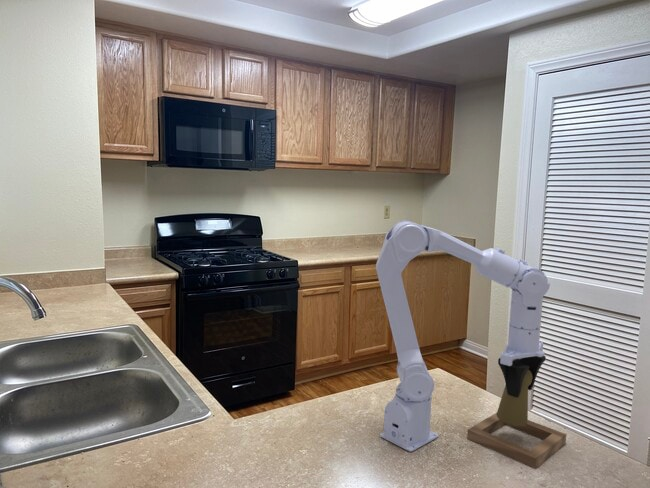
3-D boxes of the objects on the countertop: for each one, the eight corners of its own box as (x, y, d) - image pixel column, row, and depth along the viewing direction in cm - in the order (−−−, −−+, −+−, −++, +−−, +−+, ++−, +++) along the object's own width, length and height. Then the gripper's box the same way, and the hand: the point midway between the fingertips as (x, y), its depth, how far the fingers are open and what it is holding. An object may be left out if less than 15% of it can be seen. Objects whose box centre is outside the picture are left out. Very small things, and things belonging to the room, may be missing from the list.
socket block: (535, 468, 87) (536, 458, 87) (467, 438, 98) (467, 429, 97) (565, 443, 97) (566, 434, 97) (500, 418, 107) (501, 410, 107)
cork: (529, 429, 94) (537, 377, 92) (496, 421, 96) (504, 370, 94) (526, 414, 100) (534, 365, 98) (495, 407, 102) (503, 359, 100)
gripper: (528, 337, 87) (522, 408, 88) (560, 324, 97) (554, 389, 98) (492, 328, 92) (487, 396, 93) (525, 317, 102) (521, 378, 103)
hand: (519, 392), depth 96 cm, fingers closed on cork, 5 cm apart
